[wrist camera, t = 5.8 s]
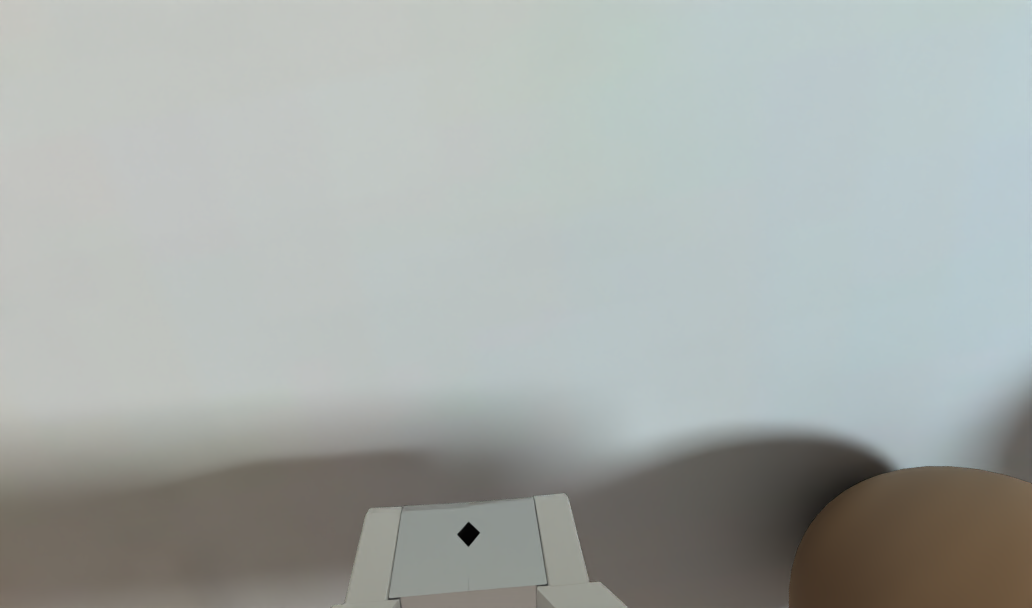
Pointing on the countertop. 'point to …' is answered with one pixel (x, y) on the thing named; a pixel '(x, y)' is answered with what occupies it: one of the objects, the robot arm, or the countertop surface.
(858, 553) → the walnut ball
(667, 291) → the countertop surface
